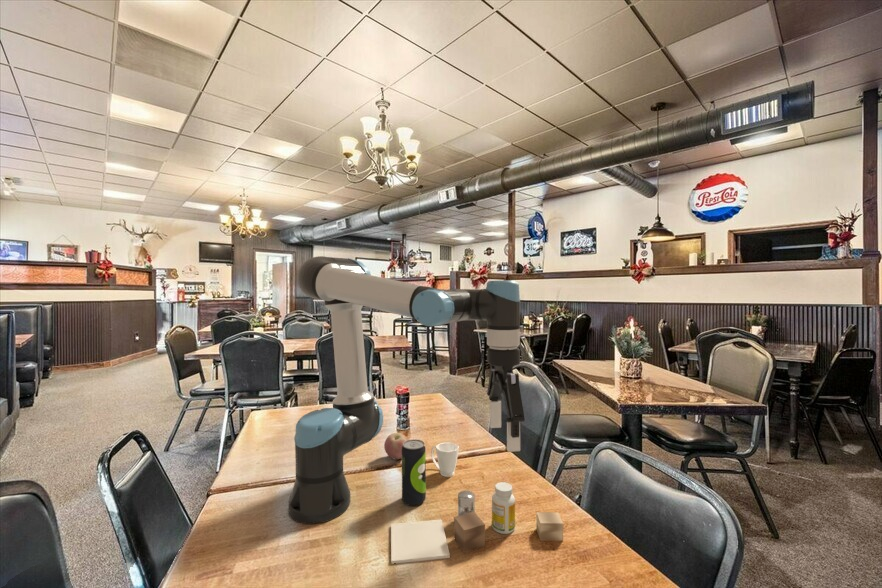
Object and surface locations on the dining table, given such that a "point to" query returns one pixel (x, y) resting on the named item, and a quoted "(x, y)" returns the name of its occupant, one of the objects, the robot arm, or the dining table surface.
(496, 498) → the supplement bottle
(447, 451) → the cup
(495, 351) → the robot arm
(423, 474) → the beverage can
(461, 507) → the cylinder
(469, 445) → the dining table surface
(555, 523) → the oak block
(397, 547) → the coaster
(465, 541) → the walnut block
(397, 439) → the apple
